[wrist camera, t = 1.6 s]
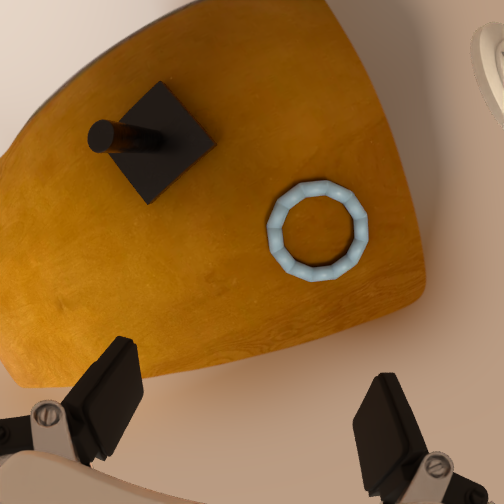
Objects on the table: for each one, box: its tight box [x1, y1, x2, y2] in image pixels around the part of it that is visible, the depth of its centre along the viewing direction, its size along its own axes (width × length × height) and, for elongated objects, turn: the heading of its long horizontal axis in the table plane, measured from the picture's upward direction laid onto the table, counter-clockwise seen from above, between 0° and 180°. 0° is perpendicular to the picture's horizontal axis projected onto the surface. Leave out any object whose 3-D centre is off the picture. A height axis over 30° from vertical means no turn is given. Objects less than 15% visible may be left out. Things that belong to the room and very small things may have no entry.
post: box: [88, 81, 217, 205], centre depth 21 cm, size 9×9×10 cm
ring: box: [267, 180, 368, 282], centre depth 27 cm, size 10×10×1 cm
